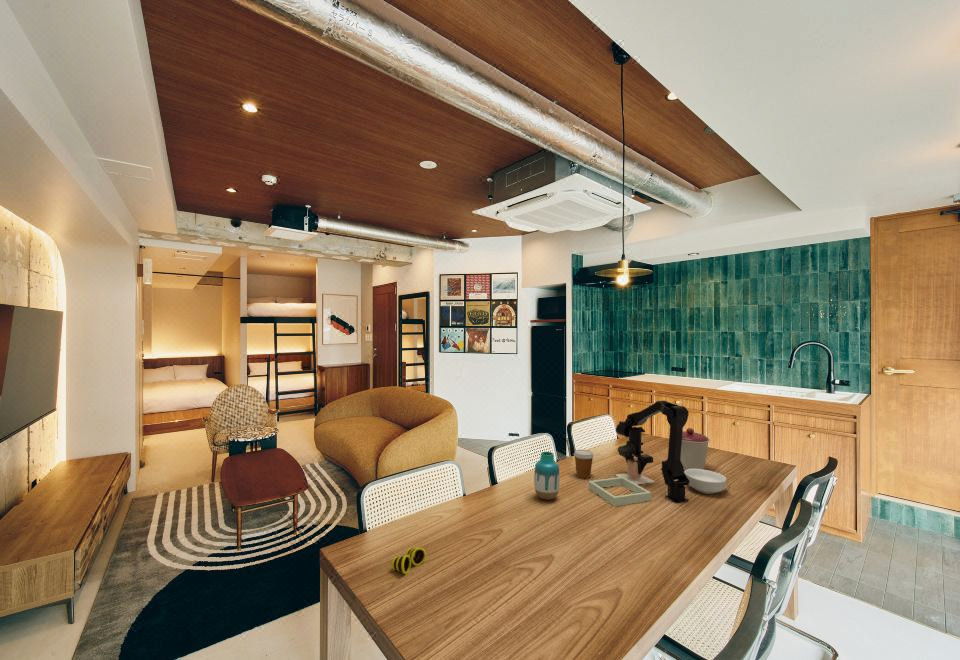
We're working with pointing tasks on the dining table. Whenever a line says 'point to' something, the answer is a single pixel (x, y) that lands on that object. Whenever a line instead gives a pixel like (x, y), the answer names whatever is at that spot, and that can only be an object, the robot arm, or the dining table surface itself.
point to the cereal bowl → (706, 480)
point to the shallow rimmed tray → (639, 495)
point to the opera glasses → (409, 560)
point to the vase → (546, 477)
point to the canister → (693, 449)
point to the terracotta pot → (633, 468)
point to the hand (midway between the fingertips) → (634, 472)
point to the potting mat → (636, 479)
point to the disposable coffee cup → (583, 462)
